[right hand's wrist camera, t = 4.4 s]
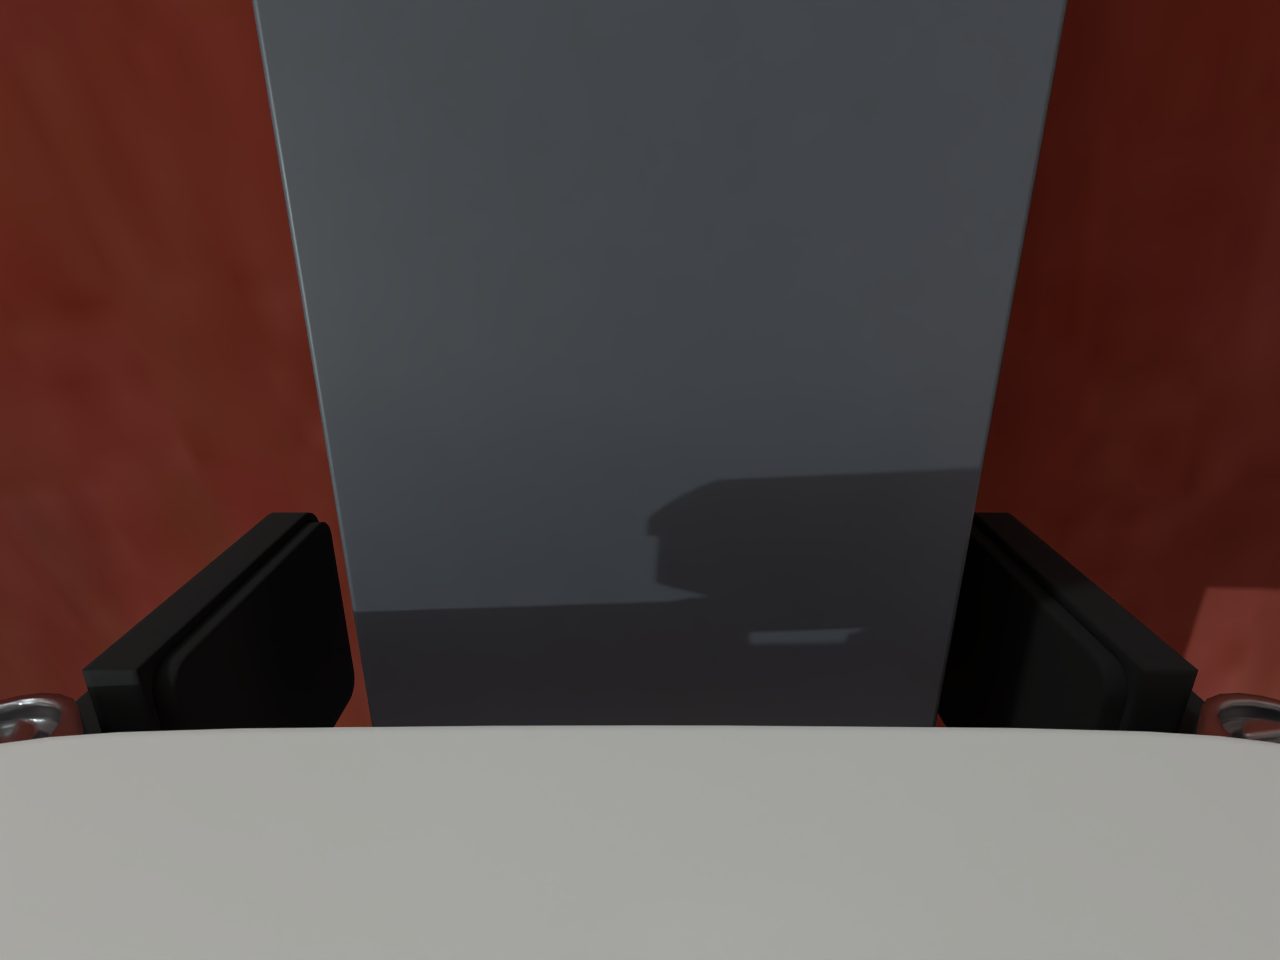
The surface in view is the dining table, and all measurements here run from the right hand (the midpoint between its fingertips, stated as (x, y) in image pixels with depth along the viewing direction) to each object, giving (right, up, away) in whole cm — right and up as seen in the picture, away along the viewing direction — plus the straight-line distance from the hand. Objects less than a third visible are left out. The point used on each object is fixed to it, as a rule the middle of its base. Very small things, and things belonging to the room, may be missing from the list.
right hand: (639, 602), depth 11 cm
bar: (0, +34, -10) cm, 36 cm away
